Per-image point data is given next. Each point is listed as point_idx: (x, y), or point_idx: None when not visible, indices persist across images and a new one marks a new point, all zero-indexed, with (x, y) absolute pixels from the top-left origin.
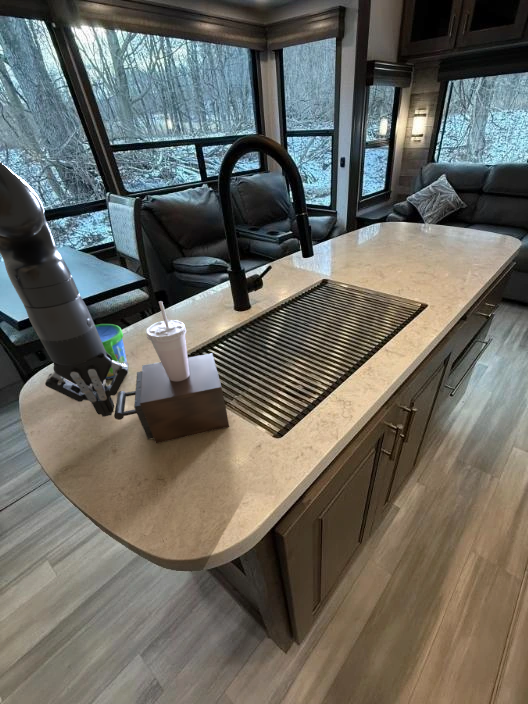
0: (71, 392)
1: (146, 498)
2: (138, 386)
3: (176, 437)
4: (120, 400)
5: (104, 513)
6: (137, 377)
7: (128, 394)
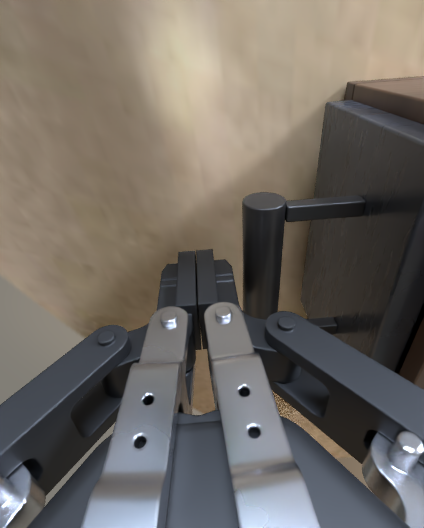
0: (94, 438)
1: (280, 400)
2: (398, 314)
3: None
4: (269, 283)
5: (214, 410)
6: (420, 228)
7: (298, 218)
